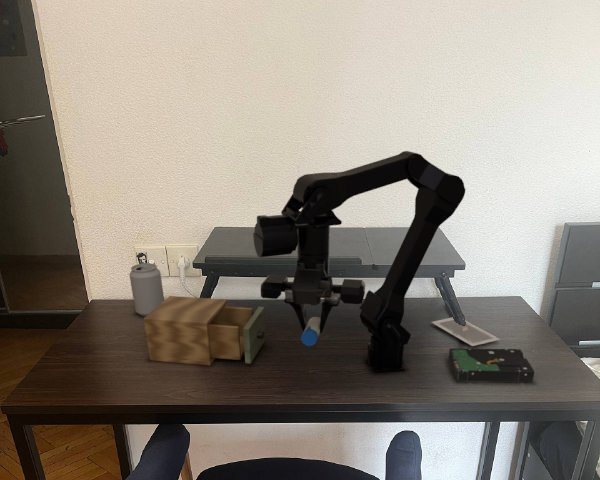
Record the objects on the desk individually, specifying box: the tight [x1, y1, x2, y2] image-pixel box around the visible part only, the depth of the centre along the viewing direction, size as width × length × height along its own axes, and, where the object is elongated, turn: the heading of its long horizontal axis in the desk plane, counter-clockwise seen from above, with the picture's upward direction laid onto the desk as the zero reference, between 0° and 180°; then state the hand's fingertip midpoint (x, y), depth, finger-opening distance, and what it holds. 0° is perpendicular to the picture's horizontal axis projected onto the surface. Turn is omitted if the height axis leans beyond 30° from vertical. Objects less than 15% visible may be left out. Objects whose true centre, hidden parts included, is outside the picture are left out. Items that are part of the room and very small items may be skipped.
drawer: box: [208, 306, 267, 365], centre depth 124 cm, size 14×12×8 cm
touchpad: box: [430, 316, 501, 347], centre depth 133 cm, size 8×15×2 cm, turn 25°
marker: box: [300, 316, 321, 347], centre depth 110 cm, size 8×3×3 cm, turn 169°
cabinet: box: [143, 295, 228, 366], centre depth 126 cm, size 14×14×10 cm
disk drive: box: [448, 347, 535, 383], centre depth 117 cm, size 10×3×15 cm
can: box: [128, 262, 165, 317], centre depth 145 cm, size 8×8×12 cm
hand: (312, 331), depth 111 cm, fingers closed on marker, 3 cm apart
